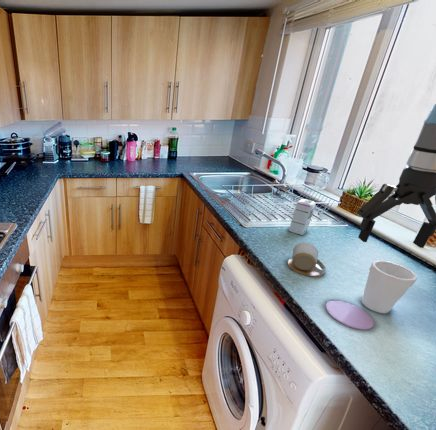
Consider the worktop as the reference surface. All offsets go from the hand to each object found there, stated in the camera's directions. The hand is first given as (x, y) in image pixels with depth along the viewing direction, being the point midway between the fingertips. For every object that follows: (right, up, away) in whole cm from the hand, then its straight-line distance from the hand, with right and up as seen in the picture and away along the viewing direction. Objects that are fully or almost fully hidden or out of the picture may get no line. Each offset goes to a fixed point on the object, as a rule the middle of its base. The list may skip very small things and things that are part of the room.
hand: (389, 242), depth 80 cm
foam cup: (+1, -20, +6) cm, 20 cm away
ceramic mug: (-8, -11, +23) cm, 27 cm away
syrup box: (+5, 0, +48) cm, 49 cm away
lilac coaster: (-10, -21, +2) cm, 23 cm away
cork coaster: (-8, -11, +23) cm, 27 cm away
